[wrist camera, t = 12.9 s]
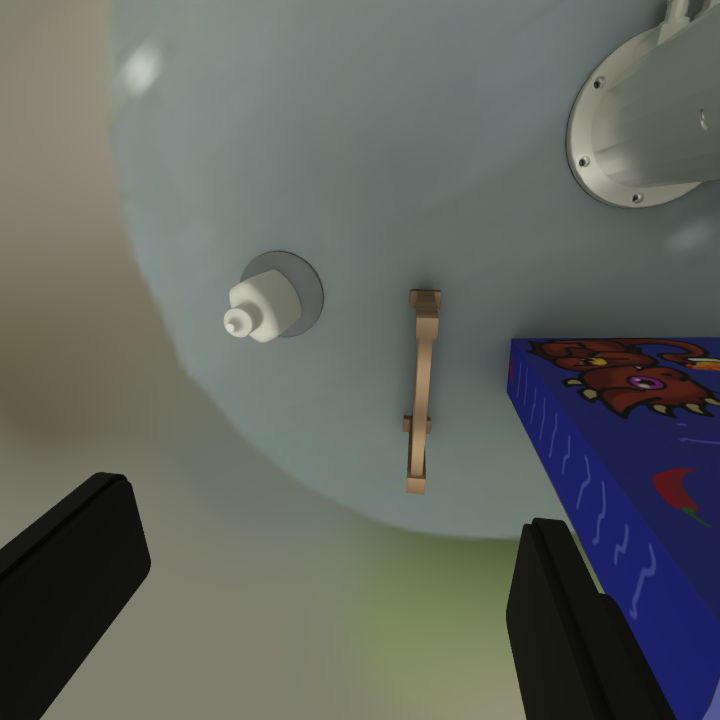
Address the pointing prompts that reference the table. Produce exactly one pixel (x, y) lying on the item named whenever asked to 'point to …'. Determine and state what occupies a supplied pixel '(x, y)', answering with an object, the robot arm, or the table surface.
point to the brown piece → (421, 386)
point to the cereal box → (639, 487)
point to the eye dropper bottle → (262, 307)
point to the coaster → (300, 279)
